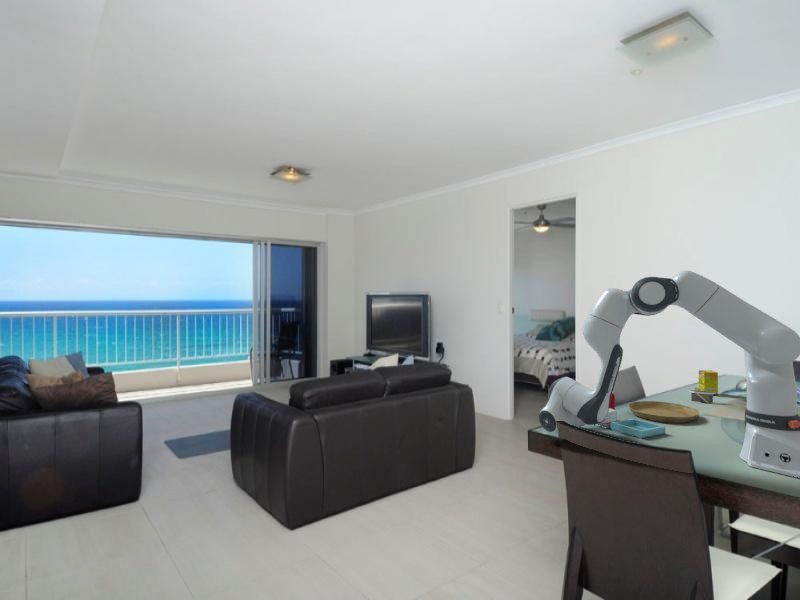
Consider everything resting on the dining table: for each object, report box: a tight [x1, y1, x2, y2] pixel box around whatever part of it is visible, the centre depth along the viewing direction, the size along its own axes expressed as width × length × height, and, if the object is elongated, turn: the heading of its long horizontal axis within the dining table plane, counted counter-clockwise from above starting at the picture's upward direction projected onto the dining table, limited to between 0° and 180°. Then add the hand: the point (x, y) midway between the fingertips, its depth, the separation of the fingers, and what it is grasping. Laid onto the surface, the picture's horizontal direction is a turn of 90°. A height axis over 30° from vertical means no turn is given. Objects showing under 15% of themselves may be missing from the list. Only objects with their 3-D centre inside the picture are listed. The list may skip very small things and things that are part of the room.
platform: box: [688, 386, 716, 404], centre depth 206 cm, size 12×18×7 cm, turn 61°
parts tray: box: [610, 418, 666, 439], centre depth 161 cm, size 12×12×2 cm
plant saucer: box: [627, 400, 700, 424], centre depth 182 cm, size 24×24×3 cm
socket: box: [598, 419, 621, 428], centre depth 171 cm, size 9×9×2 cm
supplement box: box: [698, 369, 719, 397], centre depth 222 cm, size 6×6×11 cm
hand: (597, 407), depth 167 cm, fingers open, 8 cm apart
